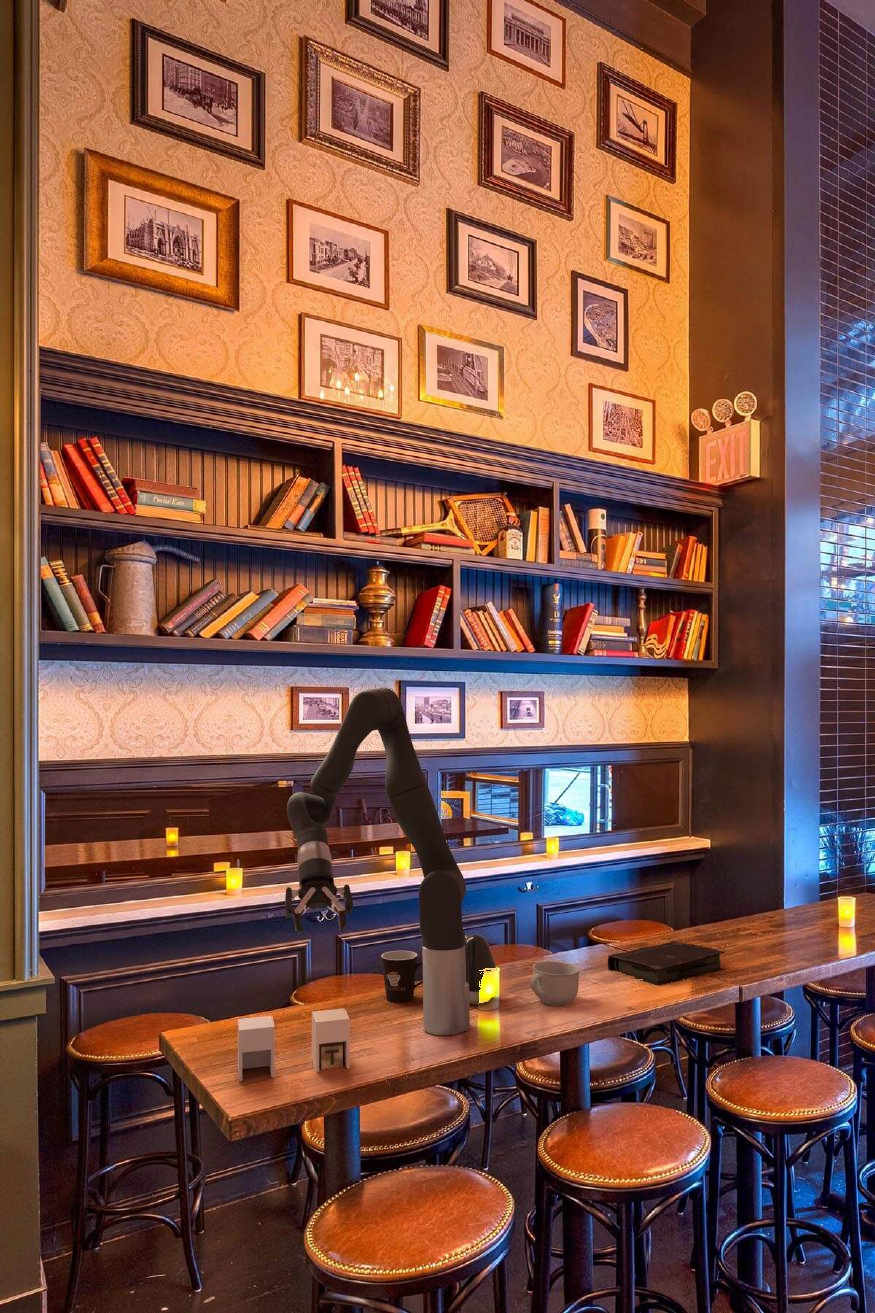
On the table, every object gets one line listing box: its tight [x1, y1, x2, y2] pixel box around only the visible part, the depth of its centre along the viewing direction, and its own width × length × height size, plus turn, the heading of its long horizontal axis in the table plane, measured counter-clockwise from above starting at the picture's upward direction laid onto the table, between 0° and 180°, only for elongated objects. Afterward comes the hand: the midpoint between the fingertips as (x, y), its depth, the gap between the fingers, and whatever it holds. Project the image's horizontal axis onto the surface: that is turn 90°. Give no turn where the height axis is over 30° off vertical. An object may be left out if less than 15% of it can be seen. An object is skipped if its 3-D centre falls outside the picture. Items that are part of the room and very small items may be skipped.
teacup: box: [529, 960, 580, 1007], centre depth 197 cm, size 14×11×8 cm
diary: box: [607, 940, 727, 986], centre depth 222 cm, size 19×25×5 cm
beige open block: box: [311, 1008, 351, 1073], centre depth 163 cm, size 6×6×9 cm
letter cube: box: [319, 1042, 344, 1070], centre depth 162 cm, size 4×4×4 cm
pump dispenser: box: [465, 933, 497, 1005], centre depth 200 cm, size 10×10×15 cm
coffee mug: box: [380, 950, 423, 1004], centre depth 201 cm, size 12×9×10 cm
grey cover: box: [237, 1015, 276, 1082], centre depth 159 cm, size 6×6×9 cm
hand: (321, 931), depth 177 cm, fingers open, 8 cm apart
